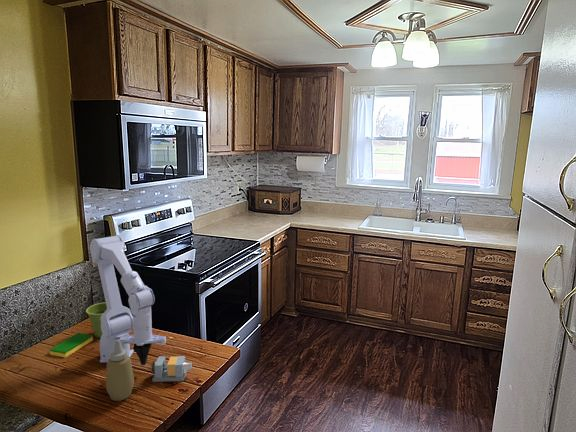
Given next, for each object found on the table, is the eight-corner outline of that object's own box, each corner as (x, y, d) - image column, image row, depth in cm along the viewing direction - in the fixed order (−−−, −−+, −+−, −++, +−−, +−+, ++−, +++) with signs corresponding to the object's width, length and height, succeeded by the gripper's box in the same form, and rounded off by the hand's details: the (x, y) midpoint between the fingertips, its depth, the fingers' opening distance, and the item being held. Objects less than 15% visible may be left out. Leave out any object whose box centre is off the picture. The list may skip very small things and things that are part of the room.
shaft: (152, 374, 129) (151, 364, 129) (154, 368, 133) (154, 359, 132) (190, 373, 130) (190, 364, 130) (192, 367, 134) (192, 358, 133)
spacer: (167, 376, 129) (167, 364, 128) (170, 367, 134) (170, 356, 133) (175, 375, 129) (175, 364, 128) (178, 367, 134) (178, 356, 134)
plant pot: (90, 329, 163) (88, 303, 161) (121, 326, 167) (119, 300, 165) (85, 343, 152) (83, 315, 150) (118, 339, 156) (117, 312, 154)
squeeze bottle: (106, 406, 116) (102, 349, 112) (106, 390, 123) (103, 337, 120) (135, 400, 119) (132, 344, 116) (134, 385, 126) (131, 332, 123)
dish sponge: (93, 340, 155) (93, 335, 154) (65, 358, 141) (64, 352, 141) (78, 338, 156) (78, 332, 156) (49, 355, 143) (48, 349, 143)
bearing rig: (152, 381, 128) (151, 366, 127) (157, 370, 134) (156, 355, 133) (183, 380, 129) (183, 365, 128) (187, 370, 135) (186, 355, 134)
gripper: (115, 331, 125) (117, 370, 127) (162, 330, 126) (163, 369, 128) (123, 321, 132) (124, 358, 134) (167, 321, 133) (168, 358, 135)
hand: (143, 363), depth 132 cm, fingers closed
